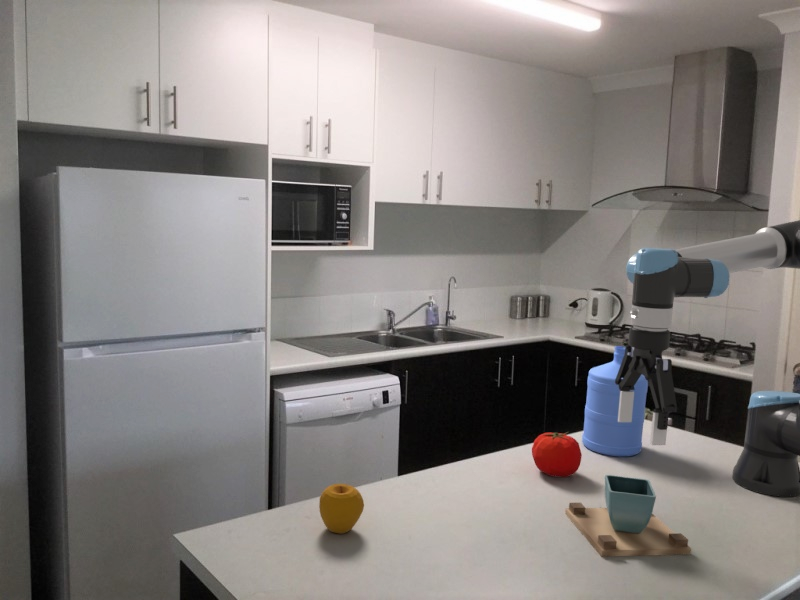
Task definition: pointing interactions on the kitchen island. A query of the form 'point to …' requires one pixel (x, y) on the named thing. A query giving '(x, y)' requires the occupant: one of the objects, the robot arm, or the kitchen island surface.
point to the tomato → (556, 454)
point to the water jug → (612, 412)
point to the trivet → (625, 535)
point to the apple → (340, 507)
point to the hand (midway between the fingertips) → (640, 432)
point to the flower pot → (629, 502)
